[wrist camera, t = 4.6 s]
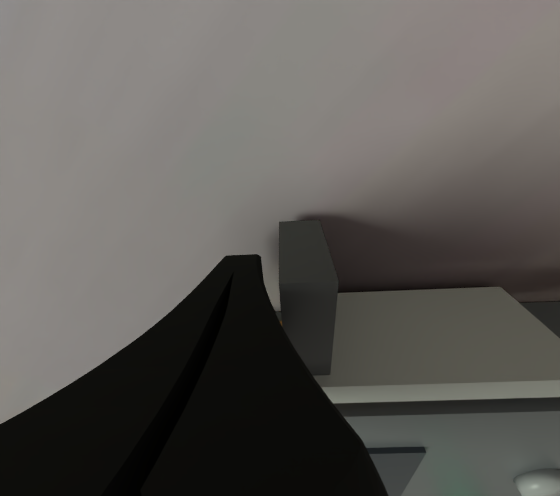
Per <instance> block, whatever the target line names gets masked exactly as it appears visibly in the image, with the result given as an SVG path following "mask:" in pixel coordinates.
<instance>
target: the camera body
mask: <svg viewBox="0 0 560 496" xmlns="http://www.w3.org/2000/svg"><path fill="white" fill-rule="evenodd" d="M520 304H521V305H522V306H523V307H524V308H525V309H527V310H528V311H529V312H530V313H531V314H532V315H534V316H535V317H536V318H537V319H538V320H539V321H540V322H542V323H543V324H544V325H545V326H546V327H547V328H548V329H550V330H551V331H552V332H553V333H554V334H555V335H556V336H558V337H559V338H560V301H559V302H532V303H520ZM275 313H276V315H277V317H278V319H279V321H280V323H281V325H282V319H281V312H275ZM333 404H334V405H335V407H336V408H337V409H338V410H339V412H340V413H341V414H342V416H343V417H344V418H345V419H346V421H347V422H348V423H349V424H350V425H351V427H352V428H353V429H354V430H355V432H356V433H357V434H358V435H359V437H360V438H361V439H362V441H363V443H364V445H365V447H366V449H367V451H368V453H369V455H370V457H371V459H372V461H373V463H374V465H375V467H376V469H377V471H378V473H379V475H380V477H381V479H382V482H383V484H384V486H385V488H386V490H387V493H388V495H389V496H560V397H543V398H507V399H471V400H436V401H400V402H365V403H333Z"/></svg>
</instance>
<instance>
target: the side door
mask: <svg viewBox="0 0 560 496" xmlns="http://www.w3.org/2000/svg"><path fill="white" fill-rule="evenodd" d="M338 285H339V280H338V277H337V274H336V271H335V267H334V264H333V261H332V258H331V255H330V252H329V249H328V245H327V242H326V239H325V236H324V233H323V230H322V226H321V223H320V220H308V221H287V222H279V289H280V304H281V319H282V327H283V329H284V331H285V333H286V334H287V336H288V338H289V340H290V341H291V343H292V345H293V346H294V348H295V350H296V351H297V353H298V354H299V356H300V357H301V359H302V360H303V362H304V363H305V365H306V366H307V368H308V369H309V371H310V372H311V374H312V376H313V377H314V378H315V380H316V381H317V383H318V384H319V385H320V387H321V388H322V389H323V391H324V392H325V393H326V395H327V396H328V398H329V399H330V400H331V401H332V403H365V402H400V401H436V400H471V399H507V398H543V397H560V338H559V337H558V336H556V335H555V334H554V333H553V332H552V331H551V330H550V329H548V328H547V327H546V326H545V325H544V324H543V323H542V322H540V321H539V320H538V319H537V318H536V317H535V316H534V315H532V314H531V313H530V312H529V311H528V310H527V309H525V308H524V307H523V306H522V305H521V304H520V303H519V302H517V301H516V300H515V299H514V298H513V297H512V296H511V295H509V294H508V293H507V292H506V291H505V290H504V289H502V288H501V287H478V288H453V289H427V290H402V291H376V292H350V293H338Z"/></svg>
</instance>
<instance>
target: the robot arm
mask: <svg viewBox="0 0 560 496" xmlns="http://www.w3.org/2000/svg"><path fill="white" fill-rule="evenodd" d="M0 496H389V495H388V493H387V490H386V488H385V486H384V484H383V482H382V479H381V477H380V475H379V473H378V471H377V469H376V467H375V465H374V463H373V461H372V459H371V457H370V455H369V453H368V451H367V449H366V447H365V445H364V443H363V441H362V439H361V438H360V437H359V435H358V434H357V433H356V432H355V430H354V429H353V428H352V427H351V425H350V424H349V423H348V422H347V421H346V419H345V418H344V417H343V416H342V414H341V413H340V412H339V410H338V409H337V408H336V407H335V405H334V404H333V403H332V401H331V400H330V399H329V398H328V396H327V395H326V393H325V392H324V391H323V389H322V388H321V387H320V385H319V384H318V383H317V381H316V380H315V378H314V377H313V376H312V374H311V372H310V371H309V369H308V368H307V366H306V365H305V363H304V362H303V360H302V359H301V357H300V356H299V354H298V353H297V351H296V350H295V348H294V346H293V345H292V343H291V341H290V340H289V338H288V336H287V334H286V333H285V331H284V329H283V327H282V325H281V323H280V321H279V319H278V317H277V315H276V313H275V311H274V309H273V306H272V304H271V302H270V299H269V297H268V294H267V291H266V288H265V285H264V281H263V272H262V264H261V257H260V256H259V255H258V254H254V255H232V256H225V257H224V258H223V259H222V260H221V261H220V262H219V264H218V265H217V266H216V267H215V268H214V269H213V270H212V271H211V272H210V273H209V274H208V275H207V277H206V278H205V279H204V280H203V281H202V282H201V283H200V284H199V285H198V286H197V287H196V288H195V289H194V290H193V291H192V292H191V293H190V294H189V295H188V296H187V297H186V298H185V299H184V300H183V301H181V302H180V303H179V304H178V305H177V306H176V307H175V308H174V309H173V310H172V311H171V312H170V313H168V314H167V315H166V316H165V317H164V318H163V319H161V320H160V321H159V322H158V323H157V324H155V325H154V326H153V327H152V328H150V329H149V330H148V331H146V332H145V333H144V334H143V335H141V336H140V337H139V338H137V339H136V340H135V341H133V342H132V343H130V344H129V345H128V346H126V347H125V348H123V349H122V350H120V351H119V352H118V353H116V354H115V355H113V356H112V357H110V358H109V359H108V360H106V361H105V362H103V363H102V364H100V365H99V366H98V367H96V368H94V369H93V370H91V371H90V372H88V373H87V374H85V375H84V376H82V377H80V378H79V379H77V380H76V381H74V382H73V383H71V384H69V385H68V386H66V387H64V388H63V389H61V390H59V391H58V392H56V393H54V394H53V395H51V396H49V397H48V398H46V399H44V400H43V401H41V402H39V403H38V404H36V405H34V406H32V407H31V408H29V409H27V410H26V411H24V412H22V413H20V414H18V415H16V416H15V417H13V418H11V419H9V420H7V421H6V422H4V423H2V424H0Z"/></svg>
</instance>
